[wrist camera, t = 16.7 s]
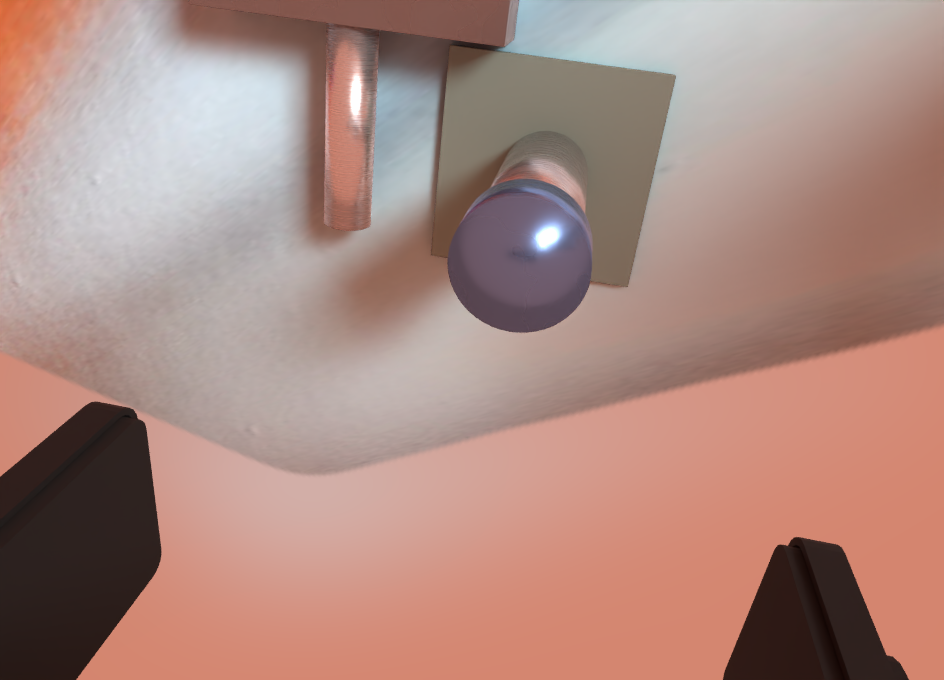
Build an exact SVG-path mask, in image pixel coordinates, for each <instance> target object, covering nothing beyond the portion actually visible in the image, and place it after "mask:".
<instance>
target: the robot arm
mask: <svg viewBox="0 0 944 680" xmlns="http://www.w3.org/2000/svg"><path fill="white" fill-rule="evenodd" d="M160 559H161V544H160V535H159V527H158V519H157V511H156V503H155V495H154V487H153V479H152V470H151V462H150V454H149V446H148V438H147V430H146V426H145V423H144V422H143V421H141V420H138V418H137V414H136V413H135V411H134V410H133V409H131V408H127V407H122V406H117V405H111V404H107V403H101V402H91V403H89V404H87V405H86V406H84V407H83V408H82V409H81V410H80V411H78V412H77V413H76V414H75V415H74V416H73V417H71V418H70V419H69V420H68V421H67V422H65V423H64V424H63V425H62V426H60V427H59V428H58V429H57V430H56V431H54V432H53V433H52V434H51V435H50V436H48V438H46V439H45V440H44V441H43V442H41V443H40V444H39V445H38V446H37V447H35V448H34V449H33V450H32V451H31V452H29V453H28V454H27V455H26V456H25V457H23V458H22V459H21V460H20V461H19V462H18V463H16V464H15V465H14V466H13V467H12V468H10V469H9V470H8V471H7V472H5V473H4V474H3V475H2V476H1V477H0V680H76V679H77V678H78V676H79V675H80V674H81V672H82V671H83V670H84V668H85V667H86V666H87V664H88V663H89V662H90V660H91V659H92V657H93V656H94V655H95V653H96V652H97V651H98V650H99V648H100V647H101V645H102V644H103V643H104V641H105V640H106V639H107V637H108V636H109V635H110V634H111V632H112V631H113V630H114V628H115V627H116V626H117V624H118V623H119V621H120V620H121V619H122V618H123V616H124V615H125V613H126V612H127V610H128V609H129V608H130V607H131V605H132V604H133V603H134V601H135V600H136V599H137V597H138V596H139V595H140V593H141V592H142V591H143V589H144V588H145V587H146V585H147V584H148V582H149V581H150V580H151V579H152V577H153V576H154V574H155V573H156V571H157V568H158V566H159V563H160ZM723 680H909V679H908V677H907V675H906V673H905V671H904V670H903V668H902V666H901V664H900V663H899V662H898V661H897V660H896V659H895V658H894V657H891V656H887V655H886V653H885V651H884V648H883V646H882V643H881V641H880V638H879V636H878V633H877V631H876V628H875V626H874V623H873V621H872V619H871V616H870V614H869V611H868V609H867V606H866V604H865V602H864V599H863V596H862V594H861V592H860V589H859V587H858V584H857V582H856V579H855V577H854V574H853V572H852V569H851V567H850V564H849V562H848V560H847V557H846V555H845V553H844V551H843V549H842V548H841V547H840V546H839V545H836V544H831V543H826V542H821V541H815V540H810V539H805V538H800V537H795V538H793V539H792V540H791V541H790V543H789V545H788V546H786V545H778V546H777V547H776V548H775V550H774V552H773V555H772V557H771V559H770V562H769V564H768V567H767V569H766V572H765V574H764V577H763V579H762V581H761V584H760V586H759V589H758V591H757V594H756V596H755V599H754V601H753V603H752V606H751V608H750V611H749V613H748V616H747V618H746V621H745V623H744V626H743V628H742V630H741V633H740V635H739V638H738V640H737V642H736V645H735V648H734V650H733V652H732V655H731V657H730V660H729V662H728V665H727V667H726V670H725V673H724V677H723Z"/></svg>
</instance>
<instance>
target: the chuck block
mask: <svg viewBox="0 0 944 680" xmlns="http://www.w3.org/2000/svg"><path fill="white" fill-rule="evenodd" d="M189 4H192V5H200V6H207V7H214V8H222V9H229V10H237V11H244V12H251V13H259V14H266V15H273V16H281V17H288V18H295V19H303V20H310V21H317V22H325V23H327V48H326V114H325V180H324V223H325V224H326V225H327V226H329V227H331V228H334V229H338V230H346V231H356V230H362V229H366V228H368V227H369V226H370V225H371V205H372V184H373V163H374V141H375V120H376V98H377V77H378V56H379V34H380V30H384V31H391V32H398V33H406V34H413V35H421V36H428V37H435V38H443V39H450V40H457V41H465V42H472V43H479V44H487V45H494V46H502V47H505V46H506V45H508V44H509V43H510V42H511V41H513V40H514V36H515V28H516V20H517V12H518V5H519V0H189Z"/></svg>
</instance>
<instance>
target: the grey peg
mask: <svg viewBox="0 0 944 680" xmlns="http://www.w3.org/2000/svg"><path fill="white" fill-rule="evenodd" d="M587 182H588V167H587V162H586V159H585V156H584V154H583V152H582V151H581V149H580V148H579V146H578V145H577V144H576V143H575V142H574V141H573V140H571V139H570V138H568V137H567V136H565V135H563V134H560V133H557V132H553V131H539V132H534V133H531V134H529V135H527V136H524V137H523V138H521V139H520V140H519V141H518V142H516V143H515V144H514V146H513V147H512V148H511V149H510V151H509V152H508V154H507V156H506V158H505V160H504V162H503V164H502V166H501V168H500V170H499V172H498V174H497V176H496V177H495V179H494V181H493V183H492V185H491V187H490V188H489V189H488V190H486V191H485V192H483V193H482V194H481V195H480V196H479V197H478V198H477V199H476V200H475V201H474V202H473V203H472V205H471V206H470V208H469V209H468V211H467V212H466V214H465V216H464V218H463V219H462V221H461V223H460V225H459V227H458V228H457V230H456V232H455V234H454V236H453V238H452V241H451V244H450V247H449V253H448V273H449V277H450V281H451V284H452V287H453V289H454V291H455V293H456V295H457V297H458V299H459V300H460V301H461V303H462V304H463V305H464V307H465V308H466V309H467V310H468V311H469V312H470V313H471V314H473V315H474V316H475V317H476V318H478V319H479V320H481V321H482V322H484V323H486V324H488V325H490V326H492V327H495V328H498V329H500V330H505V331H509V332H534V331H539V330H543V329H546V328H549V327H551V326H554V325H556V324H557V323H559V322H561V321H562V320H564V319H565V318H567V317H568V316H569V315H570V314H571V313H572V312H573V311H574V310H575V309H576V308H577V307H578V306H579V304H580V303H581V301H582V300H583V298H584V296H585V294H586V292H587V290H588V287H589V283H590V280H591V272H592V250H593V239H592V232H591V228H590V224H589V221H588V219H587V217H586V215H585V210H586V196H587Z"/></svg>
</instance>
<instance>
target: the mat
mask: <svg viewBox="0 0 944 680" xmlns="http://www.w3.org/2000/svg"><path fill="white" fill-rule="evenodd" d="M675 78H676V76H675V75H671V74H664V73H656V72H649V71H642V70H634V69H627V68H620V67H612V66H605V65H598V64H590V63H583V62H576V61H569V60H561V59H554V58H547V57H539V56H532V55H525V54H517V53H510V52H503V51H495V50H488V49H481V48H473V47H466V46H459V45H450V47H449V59H448V70H447V81H446V92H445V103H444V115H443V126H442V137H441V148H440V159H439V171H438V182H437V193H436V204H435V216H434V227H433V238H432V249H431V255H434V256H440V257H446V258H448V253H449V247H450V244H451V241H452V238H453V236H454V234H455V232H456V230H457V228H458V227H459V225H460V223H461V221H462V219H463V218H464V216H465V214H466V212H467V211H468V209H469V208H470V206H471V205H472V203H473V202H474V201H475V200H476V199H477V198H478V197H479V196H480V195H481V194H482V193H483V192H485V191H486V190H488V189H489V188H490V187H491V185H492V183H493V181H494V179H495V177H496V176H497V174H498V172H499V170H500V168H501V166H502V164H503V162H504V160H505V158H506V156H507V154H508V152H509V151H510V149H511V148H512V147H513V146H514V144H515V143H516V142H518V141H519V140H520V139H521V138H523V137H524V136H527V135H529V134H531V133H534V132H539V131H553V132H557V133H560V134H563V135H565V136H567V137H568V138H570V139H571V140H573V141H574V142H575V143H576V144H577V145H578V146H579V148H580V149H581V151H582V152H583V154H584V156H585V159H586V162H587V167H588V182H587V196H586V210H585V215H586V217H587V219H588V221H589V224H590V228H591V232H592V239H593V250H592V272H591V280H590V281H593V282H599V283H605V284H611V285H617V286H623V287H628V283H629V279H630V274H631V270H632V265H633V261H634V257H635V252H636V248H637V244H638V239H639V235H640V231H641V226H642V222H643V218H644V213H645V209H646V204H647V200H648V196H649V191H650V187H651V183H652V178H653V174H654V170H655V165H656V161H657V157H658V152H659V148H660V143H661V139H662V135H663V130H664V126H665V122H666V117H667V113H668V109H669V104H670V100H671V96H672V91H673V87H674V82H675Z"/></svg>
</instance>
